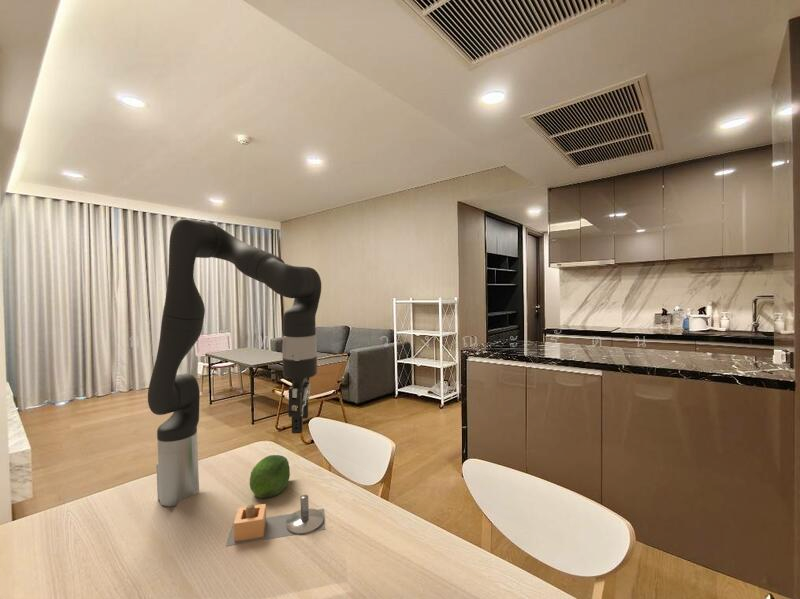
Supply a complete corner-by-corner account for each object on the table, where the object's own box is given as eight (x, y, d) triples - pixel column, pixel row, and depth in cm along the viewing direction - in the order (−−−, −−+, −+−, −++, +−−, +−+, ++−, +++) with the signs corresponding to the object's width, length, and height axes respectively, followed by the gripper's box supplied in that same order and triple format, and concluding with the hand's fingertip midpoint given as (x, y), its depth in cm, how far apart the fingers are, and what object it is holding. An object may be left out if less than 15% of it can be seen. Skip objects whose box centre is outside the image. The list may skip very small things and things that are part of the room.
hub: (284, 537, 82) (284, 510, 82) (286, 513, 90) (286, 489, 90) (324, 530, 84) (323, 504, 84) (322, 508, 92) (322, 484, 92)
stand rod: (246, 533, 83) (245, 509, 83) (247, 528, 85) (246, 505, 85) (254, 532, 84) (253, 508, 83) (255, 527, 85) (255, 503, 85)
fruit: (267, 476, 111) (266, 443, 111) (299, 477, 110) (298, 444, 110) (241, 506, 96) (240, 469, 95) (279, 508, 95) (278, 470, 95)
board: (225, 552, 79) (225, 546, 79) (233, 529, 87) (232, 522, 87) (325, 535, 84) (325, 529, 84) (323, 514, 92) (323, 508, 92)
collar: (234, 541, 81) (233, 523, 80) (239, 524, 86) (238, 507, 86) (263, 536, 82) (262, 519, 82) (266, 520, 88) (265, 503, 88)
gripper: (289, 349, 90) (289, 414, 91) (275, 362, 76) (276, 439, 77) (320, 348, 91) (320, 413, 92) (312, 361, 77) (313, 437, 78)
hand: (300, 425), depth 84 cm, fingers open, 8 cm apart
